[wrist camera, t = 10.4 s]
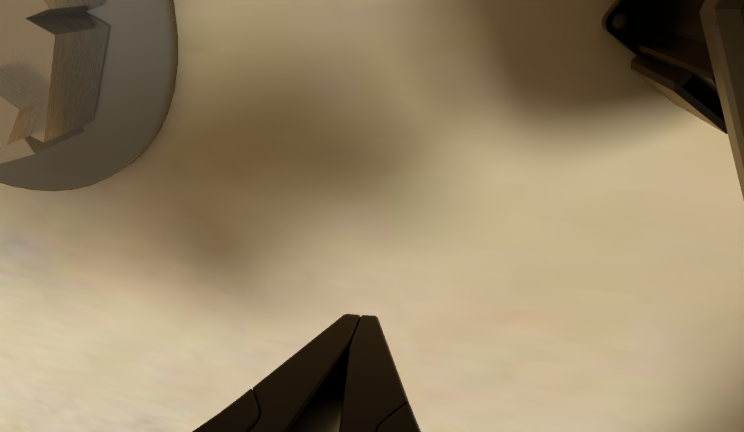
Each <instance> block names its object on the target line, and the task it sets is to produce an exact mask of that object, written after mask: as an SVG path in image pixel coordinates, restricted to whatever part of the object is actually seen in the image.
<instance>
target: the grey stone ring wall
mask: <svg viewBox="0 0 744 432" xmlns="http://www.w3.org/2000/svg"><path fill="white" fill-rule="evenodd" d="M102 4H104V1H103V0H0V164H1V163H5V162H8V161H12V160H15V159H19V158H22V157H26V156H29V155H33V154H36V153H38V152H40V151H42V150H45V149H47V148H49V147H51V146H54V145H56V144H58V143H60V142H63V141H65V140H67V139H69V138H71V137H74V136H76V135H78V134H80V133H83V132H84V131H83V129H82V128H81V127H82V126H84V125H86V124H89V123H91V122H93V118H94V112H95V107H96V101H97V95H98V89H99V83H100V77H101V72H102V66H103V60H104V54H105V48H106V42H107V37H108V31H109V26H108V25H107V24H105V23H103V22H101V21H100V20H98V19H96V18H94V17H93V16H91V15H89V14H87V13H86V12H84V11H87V10H89V9H92V8H94V7H97V6H99V5H102Z"/></svg>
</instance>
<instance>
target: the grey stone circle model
mask: <svg viewBox="0 0 744 432" xmlns="http://www.w3.org/2000/svg"><path fill="white" fill-rule="evenodd" d="M103 1H104V4H102V5H99V6H97V7H94V8H92V9H89V10H87V11H84V12H86V13H87V14H89V15H91V16H93V17H94V18H96V19H98V20H100V21H101V22H103V23H105V24H107V25H108V26H109V31H108V37H107V42H106V48H105V54H104V60H103V66H102V72H101V77H100V83H99V89H98V95H97V101H96V107H95V112H94V118H93V122H91V123H89V124H86V125H84V126H82V127H81V128H82V129H83V131H84V132H83V133H80V134H78V135H76V136H74V137H71V138H69V139H67V140H65V141H63V142H60V143H58V144H56V145H54V146H51V147H49V148H47V149H45V150H42V151H40V152H38V153H36V154H33V155H29V156H26V157H22V158H19V159H15V160H12V161H8V162H5V163H1V164H0V183H3V184H7V185H10V186H15V187H20V188H26V189H31V190H44V191H60V190H73V189H77V188H81V187H85V186H90V185H92V184H95V183H97V182H99V181H102V180H104V179H106V178H108V177H110V176H112V175H113V174H115V173H116V172H118V171H120V170H121V169H123V168H124V167H126V166H127V165H129V164H130V163H132V162H133V161H135V160H136V159H137V158H138V157H139V156H140V155H141V154H142V153H143V152H144V151H145V150H146V149H147V148H148V147H149V145H150V144H151V142H152V141H153V139H154V138H155V137H156V135H157V134H158V132H159V130H160V128H161V126H162V124H163V122H164V120H165V118H166V115H167V113H168V110H169V107H170V103H171V100H172V96H173V93H174V88H175V80H176V73H177V65H178V35H177V26H176V17H175V9H174V2H173V0H103Z"/></svg>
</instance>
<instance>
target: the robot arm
mask: <svg viewBox="0 0 744 432" xmlns="http://www.w3.org/2000/svg"><path fill="white" fill-rule="evenodd" d="M618 14H622V15H623V22H622V23H621V24H620V25H619V26H618V27H614V26H613V25H612V22H613V19H614V17H615V16H617V15H618ZM602 25H603V29H604V30H605V31H606V32H607V33H608V34H609V35H611V36H612V37H613V38H614V39H616V40H617V41H618V42H619V43H620V44H622V45H623V46H624V47H625V48H627V49H628V50H629V51H630V52H632V53H633V54H634V55H635V57H634V58H633V59H632V60H631V69H632V70H633V71H635V72H636V73H637V74H638V75H640V76H641V77H642V78H643V79H645V80H646V81H647V82H648V83H650V84H651V85H652V86H653V87H655V88H656V89H657V90H658V91H660V92H661V93H662V94H663V95H665V96H666V97H667V98H668V99H670V100H671V101H672V102H673V103H675V104H676V105H678V106H680V107H682V108H683V109H685V110H687V111H688V112H690V113H692V114H693V115H695V116H697V117H698V118H700V119H702V120H703V121H705V122H707V123H709V124H710V125H712V126H714V127H715V128H717V129H719V130H720V131H722V132H724V133H725V134H728V136H729V140H730V144H731V149H732V153H733V157H734V161H735V165H736V170H737V174H738V178H739V182H740V187H741V191H742V195H743V199H744V0H617V1H616V2H615V3H614V4H613V5H612V7H611V8H610V9H609V10H608V11H607V12H606V14H605V16H604V17H603V21H602ZM193 432H421V431H420V429H419V426H418V424H417V421H416V419H415V417H414V414H413V411H412V409H411V406H410V404H409V402H408V399H407V396H406V393H405V391H404V388H403V385H402V382H401V380H400V377H399V374H398V372H397V369H396V366H395V363H394V361H393V358H392V355H391V353H390V350H389V347H388V344H387V342H386V339H385V336H384V334H383V331H382V328H381V325H380V323H379V320H378V318H377V317H376V316H369V315H363V316H361V317H360V316H359V315H354V314H345V315H343V316H342V317H341V318H339V319H338V320H337V321H336V322H334V323H333V324H332V325H331V326H329V327H328V328H327V329H326V330H324V331H323V332H322V333H321V334H319V335H318V336H317V337H316V338H314V339H313V340H312V341H311V342H309V343H308V344H307V345H306V346H304V347H303V348H302V349H301V350H299V351H298V352H297V353H296V354H294V355H293V356H292V357H291V358H289V359H288V360H287V361H286V362H284V363H283V364H282V365H281V366H279V367H278V368H277V369H276V370H274V371H273V372H272V373H271V374H269V375H268V376H267V377H266V378H264V379H263V380H262V381H261V382H259V383H258V384H257V385H256V386H254V387H253V390H252V389H250V390H249V391H247V392H246V393H245V394H244V395H242V396H241V397H240V398H239V399H237V400H236V401H235V402H233V403H232V404H231V405H229V406H228V407H227V408H225V409H224V410H223V411H221V412H220V413H219V414H217V415H216V416H214V417H213V418H212V419H210V420H209V421H207V422H206V423H204V424H203V425H201V426H200V427H199V428H197V429H196V430H194V431H193Z"/></svg>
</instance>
